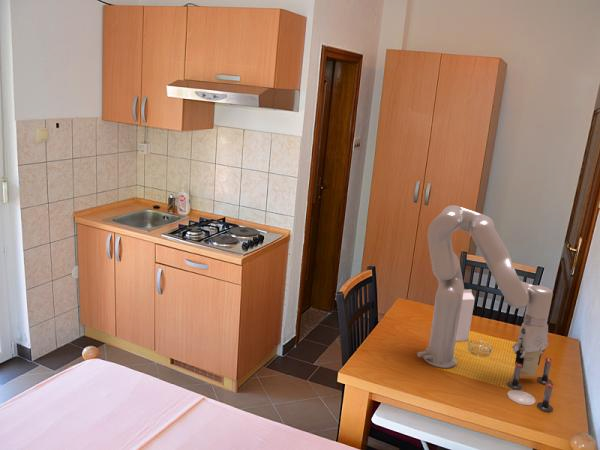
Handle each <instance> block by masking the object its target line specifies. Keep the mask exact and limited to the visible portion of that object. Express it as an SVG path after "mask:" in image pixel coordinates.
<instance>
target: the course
mask: <svg viewBox="0 0 600 450" xmlns="http://www.w3.org/2000/svg"><path fill="white" fill-rule="evenodd" d="M552 363H553V359H551V358H550V357H545V359H544V366H543V370H542V375H541V376H538V377H536V381H537V382H538V383H540V384H542V385H545V389H544V394H543V397H542V398H543V399H542V401H541V402H537V403H536V408H537V409H538V410H540V411H541V412H546V413H552V412H554V407H553V406H552V405H550V402H551V396H552V391H553V388H554V383H553V382H552V380H551V379H549V376H550V371H551V367H552ZM514 366H515V367H514V371H513V375H512V376H513V377H512V381H510V380H509V381H507V383H506V385H507V386H508V387H509V388H510V389H512V390H520V391H522V390H523V385H522V384H521V383H520V376H521V375H520V372H521V367H522V363H520V362H516V363H515V362H514Z"/></svg>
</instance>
